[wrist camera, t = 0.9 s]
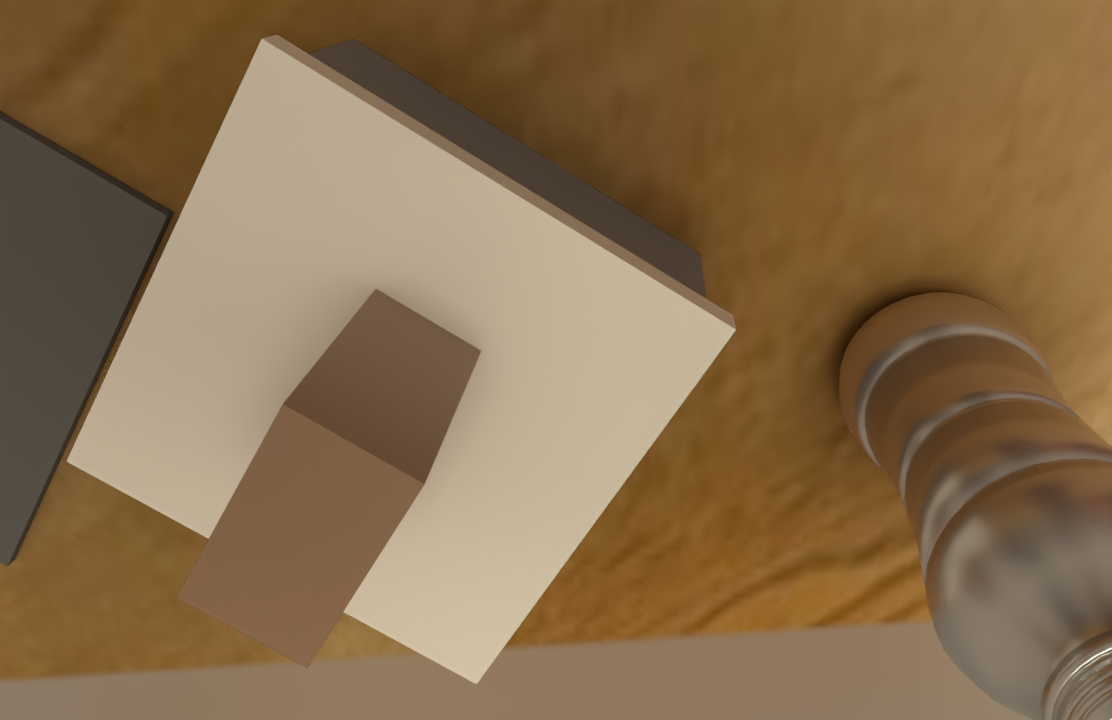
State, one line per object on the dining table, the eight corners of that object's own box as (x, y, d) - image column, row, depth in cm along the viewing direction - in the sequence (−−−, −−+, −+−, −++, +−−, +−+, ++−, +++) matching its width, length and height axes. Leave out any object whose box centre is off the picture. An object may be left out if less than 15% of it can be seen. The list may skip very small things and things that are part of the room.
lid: (100, 431, 35) (-106, 613, 25) (289, 31, 29) (115, 74, 20) (486, 642, 37) (427, 886, 27) (730, 304, 31) (763, 461, 22)
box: (193, 360, 40) (105, 440, 34) (353, 38, 35) (285, 60, 29) (504, 535, 42) (476, 644, 35) (699, 253, 37) (709, 320, 30)
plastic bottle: (822, 286, 37) (989, 633, 18) (1021, 263, 36) (1408, 604, 17) (832, 448, 39) (990, 900, 21) (1020, 430, 38) (1360, 888, 20)
